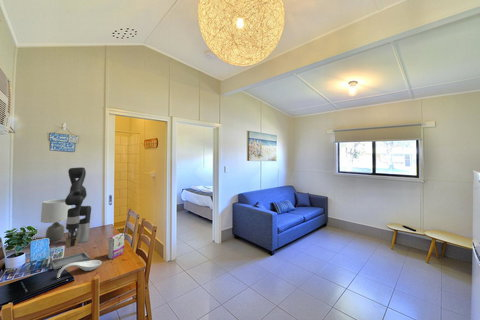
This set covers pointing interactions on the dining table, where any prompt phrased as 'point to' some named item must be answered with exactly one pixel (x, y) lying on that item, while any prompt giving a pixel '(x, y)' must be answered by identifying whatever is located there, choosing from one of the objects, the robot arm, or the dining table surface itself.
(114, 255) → the candy bar box
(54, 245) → the dining table surface
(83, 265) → the spoon rest
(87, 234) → the robot arm
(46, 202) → the lamp
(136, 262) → the dining table surface
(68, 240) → the cube
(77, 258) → the tray
